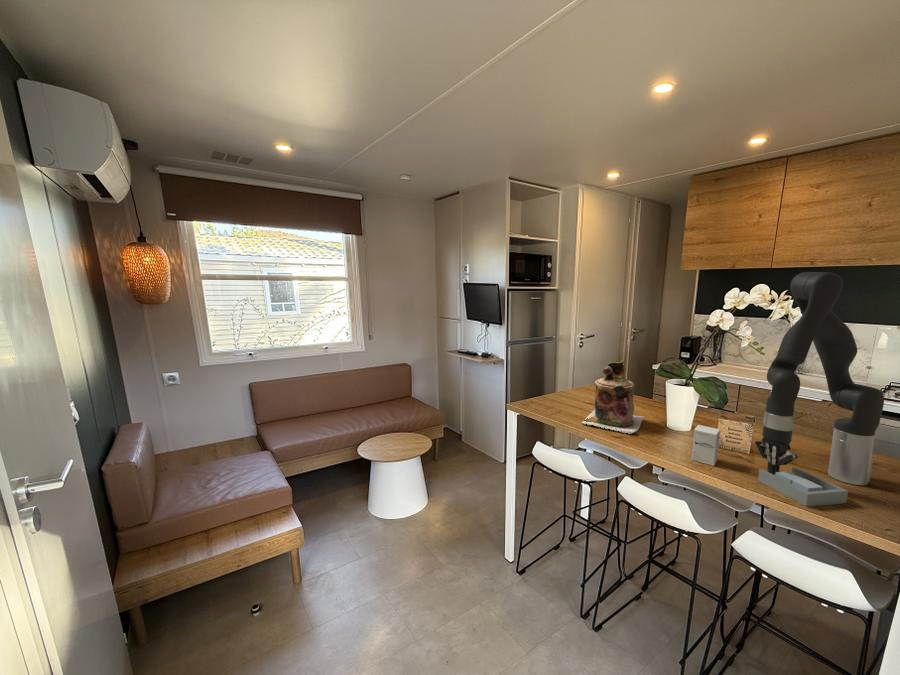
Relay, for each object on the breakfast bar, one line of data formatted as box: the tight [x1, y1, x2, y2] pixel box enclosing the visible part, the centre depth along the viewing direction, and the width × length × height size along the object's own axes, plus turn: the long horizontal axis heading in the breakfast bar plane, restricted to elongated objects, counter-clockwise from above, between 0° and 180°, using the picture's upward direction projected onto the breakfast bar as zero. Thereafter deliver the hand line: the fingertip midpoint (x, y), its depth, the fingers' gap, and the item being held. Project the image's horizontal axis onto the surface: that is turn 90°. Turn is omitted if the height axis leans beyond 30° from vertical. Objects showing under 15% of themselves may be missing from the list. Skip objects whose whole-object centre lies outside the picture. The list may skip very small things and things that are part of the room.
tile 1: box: [774, 470, 804, 484], centre depth 119 cm, size 5×5×4 cm
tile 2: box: [791, 479, 823, 492], centre depth 114 cm, size 5×5×4 cm
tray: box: [757, 466, 849, 507], centre depth 116 cm, size 14×15×4 cm
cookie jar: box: [581, 359, 645, 435], centre depth 176 cm, size 25×25×32 cm
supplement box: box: [691, 424, 721, 467], centre depth 138 cm, size 7×7×13 cm
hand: (772, 473), depth 125 cm, fingers closed
